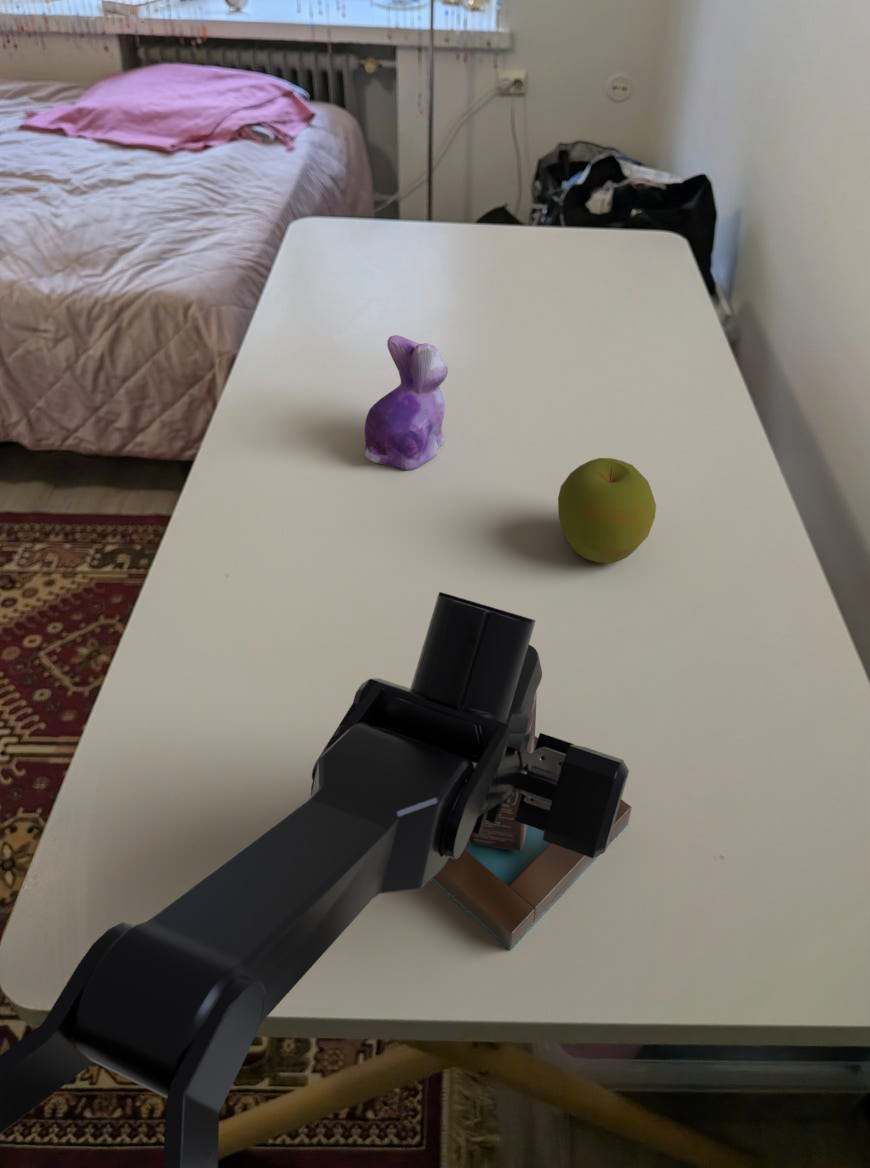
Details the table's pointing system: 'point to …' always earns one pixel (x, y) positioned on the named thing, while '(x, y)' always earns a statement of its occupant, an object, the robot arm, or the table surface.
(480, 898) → the socket
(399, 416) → the figurine
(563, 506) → the apple
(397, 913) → the table surface
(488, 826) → the box
